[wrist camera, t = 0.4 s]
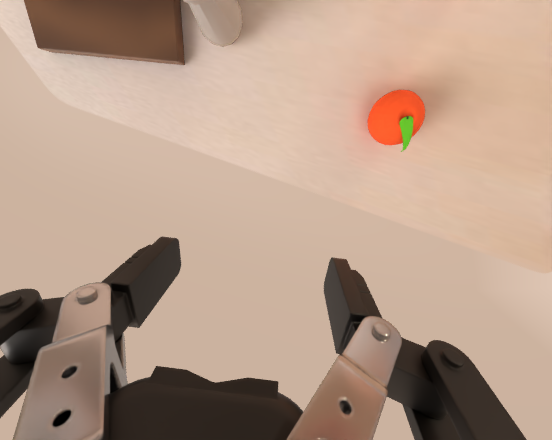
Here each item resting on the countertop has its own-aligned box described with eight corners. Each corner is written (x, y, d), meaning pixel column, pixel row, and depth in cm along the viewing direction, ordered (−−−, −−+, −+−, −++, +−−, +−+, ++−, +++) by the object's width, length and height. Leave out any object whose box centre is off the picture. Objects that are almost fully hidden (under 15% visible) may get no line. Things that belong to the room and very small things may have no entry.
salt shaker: (211, 56, 31) (164, 14, 19) (197, 5, 29) (133, -77, 17) (250, 44, 30) (225, -7, 18) (238, -9, 28) (202, -106, 16)
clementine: (411, 141, 34) (439, 145, 28) (366, 155, 35) (383, 162, 29) (406, 85, 31) (436, 75, 25) (357, 103, 32) (375, 98, 26)
